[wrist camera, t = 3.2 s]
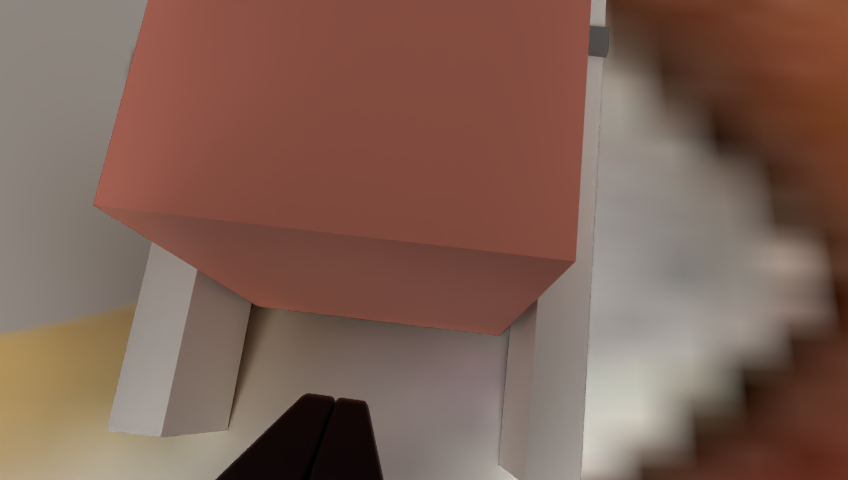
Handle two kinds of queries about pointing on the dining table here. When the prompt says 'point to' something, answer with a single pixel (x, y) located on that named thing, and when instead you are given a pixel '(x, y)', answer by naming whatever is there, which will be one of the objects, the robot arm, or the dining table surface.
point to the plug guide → (229, 312)
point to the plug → (359, 152)
